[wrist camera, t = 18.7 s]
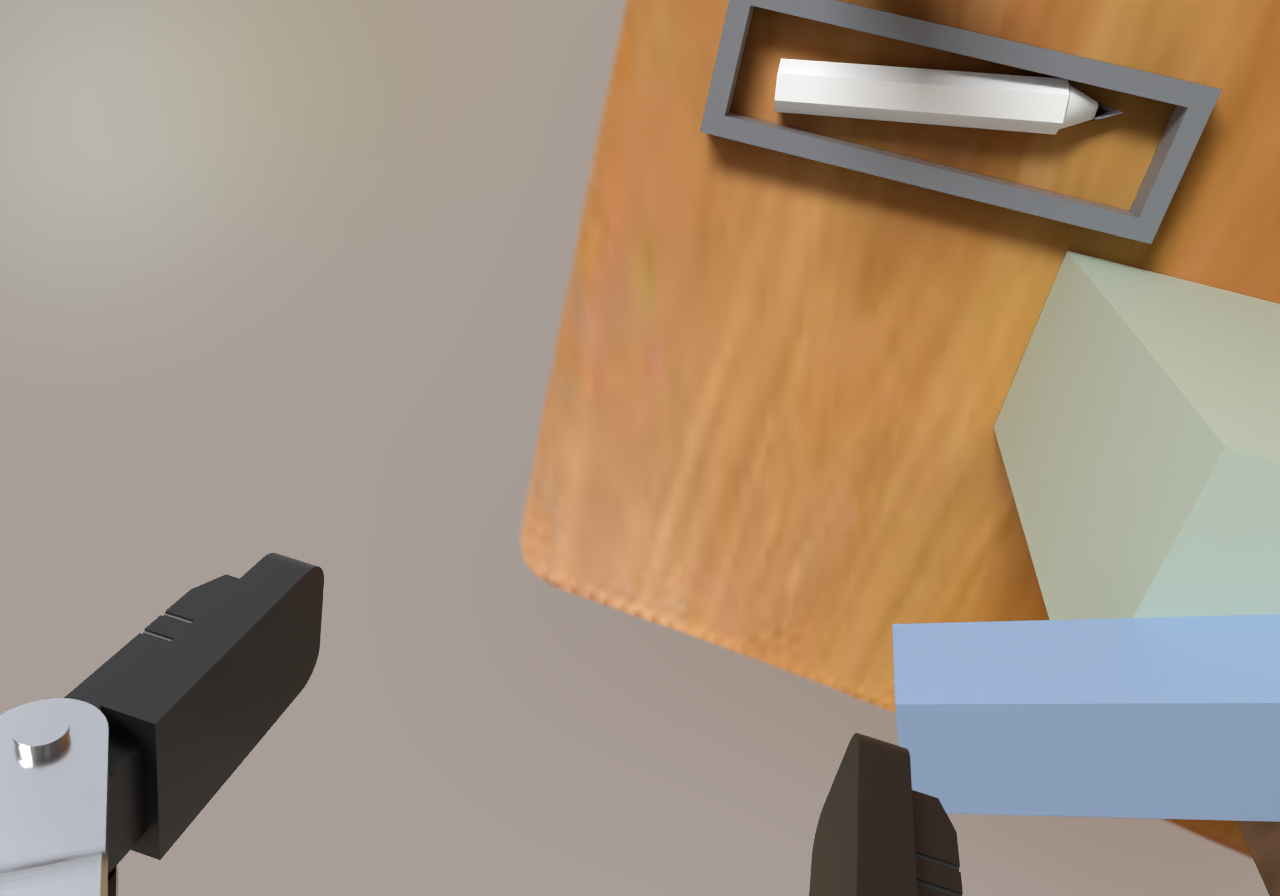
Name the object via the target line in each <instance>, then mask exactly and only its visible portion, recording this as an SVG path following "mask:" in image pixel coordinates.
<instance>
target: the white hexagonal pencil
mask: <svg viewBox="0 0 1280 896" xmlns="http://www.w3.org/2000/svg"><path fill="white" fill-rule="evenodd" d="M775 112H784V113H797V114H809V115H821V116H833V117H846V118H858V119H870V120H882V121H895V122H907V123H919V124H932V125H944V126H956V127H968V128H981V129H993V130H1005V131H1018V132H1030V133H1042V134H1054V135H1056V133H1057V132H1058V130H1059V129H1062V128H1066V127H1069V126H1073V125H1076V124H1079V123H1083V122H1086V121H1089V120H1096V119H1101V118H1106V117H1110V116H1115V115H1119V114H1124V112H1122V111H1119V110H1117V109H1114V108H1112V107H1109V106H1107V105H1104V104H1102V103H1099V102H1097V101H1095V100H1093V99H1092V98H1090V97H1088V96H1087V95H1085V94H1084V93H1082V92H1080V91H1079V90H1077V89H1075V88H1074V87H1072V86H1071V85H1069V80H1068V79H1061V78H1047V77H1033V76H1019V75H1005V74H991V73H977V72H963V71H949V70H936V69H922V68H908V67H894V66H880V65H866V64H852V63H838V62H824V61H810V60H797V59H783V58H781V60H780V65H779V69H778V74H777V83H776V92H775Z"/></svg>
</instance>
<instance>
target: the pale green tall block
mask: <svg viewBox="0 0 1280 896" xmlns="http://www.w3.org/2000/svg"><path fill="white" fill-rule="evenodd" d="M994 431H995V434H996V438H997V441H998V445H999V448H1000V452H1001V455H1002V458H1003V462H1004V465H1005V469H1006V472H1007V476H1008V479H1009V483H1010V486H1011V489H1012V493H1013V496H1014V500H1015V503H1016V507H1017V510H1018V513H1019V517H1020V520H1021V524H1022V527H1023V531H1024V534H1025V538H1026V541H1027V544H1028V548H1029V551H1030V555H1031V558H1032V562H1033V565H1034V569H1035V572H1036V575H1037V579H1038V582H1039V586H1040V589H1041V593H1042V596H1043V600H1044V603H1045V606H1046V610H1047V613H1048V617H1049V620H1073V619H1112V618H1151V617H1190V616H1229V615H1268V614H1280V304H1278V303H1274V302H1270V301H1266V300H1262V299H1258V298H1254V297H1250V296H1246V295H1243V294H1239V293H1235V292H1231V291H1227V290H1223V289H1219V288H1215V287H1211V286H1207V285H1203V284H1199V283H1195V282H1191V281H1187V280H1183V279H1179V278H1175V277H1171V276H1167V275H1163V274H1159V273H1155V272H1151V271H1147V270H1143V269H1139V268H1135V267H1131V266H1128V265H1124V264H1120V263H1116V262H1112V261H1108V260H1104V259H1100V258H1096V257H1092V256H1088V255H1084V254H1080V253H1076V252H1072V251H1068V250H1067V252H1066V255H1065V257H1064V260H1063V262H1062V264H1061V267H1060V269H1059V272H1058V274H1057V277H1056V279H1055V281H1054V284H1053V286H1052V289H1051V291H1050V293H1049V296H1048V298H1047V301H1046V303H1045V305H1044V308H1043V310H1042V313H1041V315H1040V317H1039V320H1038V322H1037V325H1036V327H1035V329H1034V332H1033V334H1032V337H1031V339H1030V341H1029V344H1028V346H1027V349H1026V351H1025V353H1024V356H1023V358H1022V361H1021V363H1020V365H1019V368H1018V370H1017V373H1016V375H1015V377H1014V380H1013V382H1012V385H1011V387H1010V389H1009V392H1008V394H1007V397H1006V399H1005V402H1004V404H1003V406H1002V409H1001V411H1000V414H999V416H998V418H997V421H996V423H995V426H994Z"/></svg>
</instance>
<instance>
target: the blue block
mask: <svg viewBox="0 0 1280 896" xmlns="http://www.w3.org/2000/svg"><path fill="white" fill-rule="evenodd" d="M892 628H893V657H894V687H895V709H896V720H897V730H898V741H899V746H900V747H903V748H907V749H908V750H909V753H910V763H911V782H912V790H914V791H917V792H920V793H924V794H927V795H930V796H933V797H936V798H938V799H939V801H940V802H941V804H942V806H943V808H944V810H945V812H946V813H950V814H990V815H1030V816H1032V815H1033V816H1071V817H1072V816H1074V817H1111V818H1112V817H1113V818H1152V819H1191V820H1231V821H1271V822H1280V614H1268V615H1229V616H1190V617H1151V618H1112V619H1073V620H1035V621H996V622H957V623H918V624H892Z"/></svg>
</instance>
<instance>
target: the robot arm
mask: <svg viewBox="0 0 1280 896" xmlns="http://www.w3.org/2000/svg"><path fill="white" fill-rule="evenodd" d="M323 587H324V574H323V571H322V569H321V568H320V567H318V566H315V565H311V564H308V563H305V562H302V561H299V560H295V559H292V558H289V557H286V556H283V555H279V554H276V553H270V554H268V555H266V556H265V557H264V558H262V559H261V560H260V561H259V562H258V563H257V564H256V565H255V566H254V567H252V568H251V569H250V570H249V571H248V572H247V573H246V574H245V575H244V576H242V577H241V578H240V579H238V578H235V577H232V576H229V575H224V576H222V577H219V578H217V579H214V580H212V581H210V582H207V583H205V584H203V585H200V586H198V587H196V588H193V589H191V590H190V591H189V592H188V593H186V594H185V595H184V596H183V597H182V598H180V599H179V600H178V601H177V602H176V603H175V604H174V605H172V606H171V607H170V608H169V609H168V610H166V612H165V615H164V616H159V617H158V618H157V619H156V620H155V621H154V622H152V623H151V624H150V625H149V626H148V627H147V628H145V631H144V633H143V634H138V635H137V636H136V637H135V638H134V639H132V640H131V641H130V642H129V643H128V644H127V645H125V646H124V647H123V648H122V649H121V650H120V651H118V652H117V653H116V654H115V655H114V656H113V657H111V658H110V659H109V660H108V661H107V662H106V663H104V664H103V665H102V666H101V667H100V668H99V669H97V670H96V671H95V672H94V673H93V674H92V675H90V676H89V677H88V678H87V679H86V680H84V681H83V682H82V683H81V684H80V685H79V686H78V687H76V688H75V689H74V690H73V691H72V692H70V693H69V694H68V695H67V696H66V697H65V698H50V699H43V700H37V701H32V702H29V703H25V704H22V705H20V706H17V707H15V708H12V709H10V710H8V711H6V712H4V713H3V714H1V715H0V896H118V869H117V864H118V863H119V862H120V861H121V860H122V858H123V857H124V856H125V855H126V854H127V853H128V852H129V850H133V851H136V852H139V853H142V854H145V855H147V856H150V857H153V858H156V859H159V860H161V858H162V857H163V856H164V855H165V854H166V852H167V851H168V850H169V849H170V848H171V846H172V845H173V844H174V843H175V842H176V840H177V839H178V838H179V837H180V836H181V834H182V833H183V832H184V831H185V830H186V828H187V827H188V826H189V824H191V822H192V821H193V820H194V819H195V818H196V816H197V815H198V814H199V813H200V811H201V810H202V809H203V808H204V807H205V806H206V804H207V803H208V802H209V801H210V800H211V798H212V797H213V796H214V795H215V794H216V792H217V791H218V790H219V789H220V788H221V786H222V785H223V784H224V783H225V782H226V780H227V779H228V778H229V777H230V776H231V775H232V773H233V772H234V771H235V770H236V769H237V767H238V766H239V765H240V764H241V763H242V761H243V760H244V759H245V758H246V757H247V755H248V754H249V753H250V752H251V750H252V749H253V748H254V747H255V746H256V745H257V743H258V742H259V741H260V740H261V739H262V737H263V736H264V735H265V734H266V733H267V731H268V730H269V729H270V728H271V726H272V725H273V724H274V723H275V722H276V721H277V719H278V718H279V717H280V716H281V715H282V713H283V712H284V711H285V710H286V708H287V707H288V706H289V705H290V704H291V703H292V701H293V700H294V699H295V698H296V697H297V695H298V694H299V693H300V692H301V691H302V689H303V688H304V686H305V685H306V683H307V682H308V680H309V678H310V676H311V674H312V672H313V669H314V667H315V664H316V661H317V657H318V654H319V647H320V633H321V618H322V617H321V616H322V603H323ZM959 866H960V863H959V854H958V845H957V834H956V831H955V829H954V827H953V825H952V823H951V821H950V819H949V817H948V816H947V814H946V812H945V810H944V808H943V806H942V804H941V802H940V801H939V799H938V798H936V797H933V796H930V795H927V794H924V793H920V792H917V791H914V790H912V782H911V763H910V753H909V750H908V749H907V748H903V747H900V746H897V745H894V744H890V743H887V742H884V741H881V740H877V739H875V738H871V737H868V736H865V735H861V734H859V733H855V734H854V735H853V737H852V739H851V741H850V743H849V745H848V748H847V750H846V753H845V755H844V757H843V760H842V762H841V765H840V767H839V770H838V772H837V775H836V777H835V780H834V782H833V784H832V787H831V789H830V792H829V794H828V797H827V799H826V802H825V804H824V806H823V809H822V812H821V815H820V818H819V822H818V826H817V830H816V834H815V839H814V845H813V852H812V865H811V879H810V893H809V896H962V893H963V892H962V883H961V873H960V872H959Z"/></svg>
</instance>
